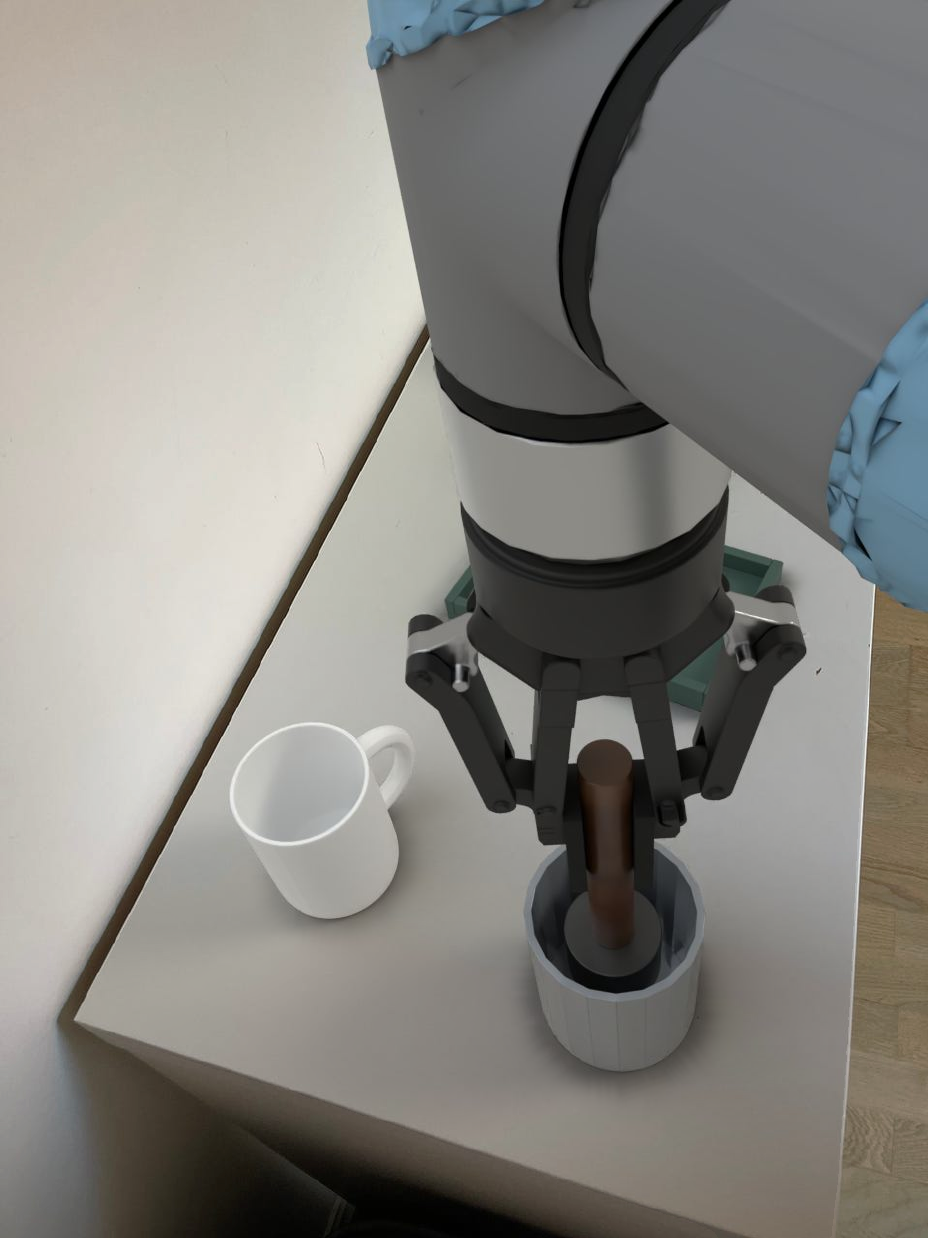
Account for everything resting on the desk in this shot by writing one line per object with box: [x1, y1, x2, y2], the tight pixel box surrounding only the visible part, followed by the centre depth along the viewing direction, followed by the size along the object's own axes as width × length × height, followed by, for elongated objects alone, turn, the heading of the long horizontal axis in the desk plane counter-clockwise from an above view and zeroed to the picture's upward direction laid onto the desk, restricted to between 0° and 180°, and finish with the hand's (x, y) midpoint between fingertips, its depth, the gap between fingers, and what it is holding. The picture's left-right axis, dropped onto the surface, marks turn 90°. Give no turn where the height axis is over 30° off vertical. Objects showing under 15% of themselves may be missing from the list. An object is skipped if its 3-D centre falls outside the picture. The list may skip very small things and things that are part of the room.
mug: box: [229, 721, 416, 920], centre depth 62 cm, size 12×8×10 cm
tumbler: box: [522, 840, 706, 1073], centre depth 53 cm, size 9×9×11 cm
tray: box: [443, 544, 784, 712], centre depth 76 cm, size 22×14×2 cm, turn 59°
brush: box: [564, 738, 662, 994], centre depth 46 cm, size 5×5×20 cm
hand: (609, 862), depth 45 cm, fingers closed on brush, 2 cm apart
